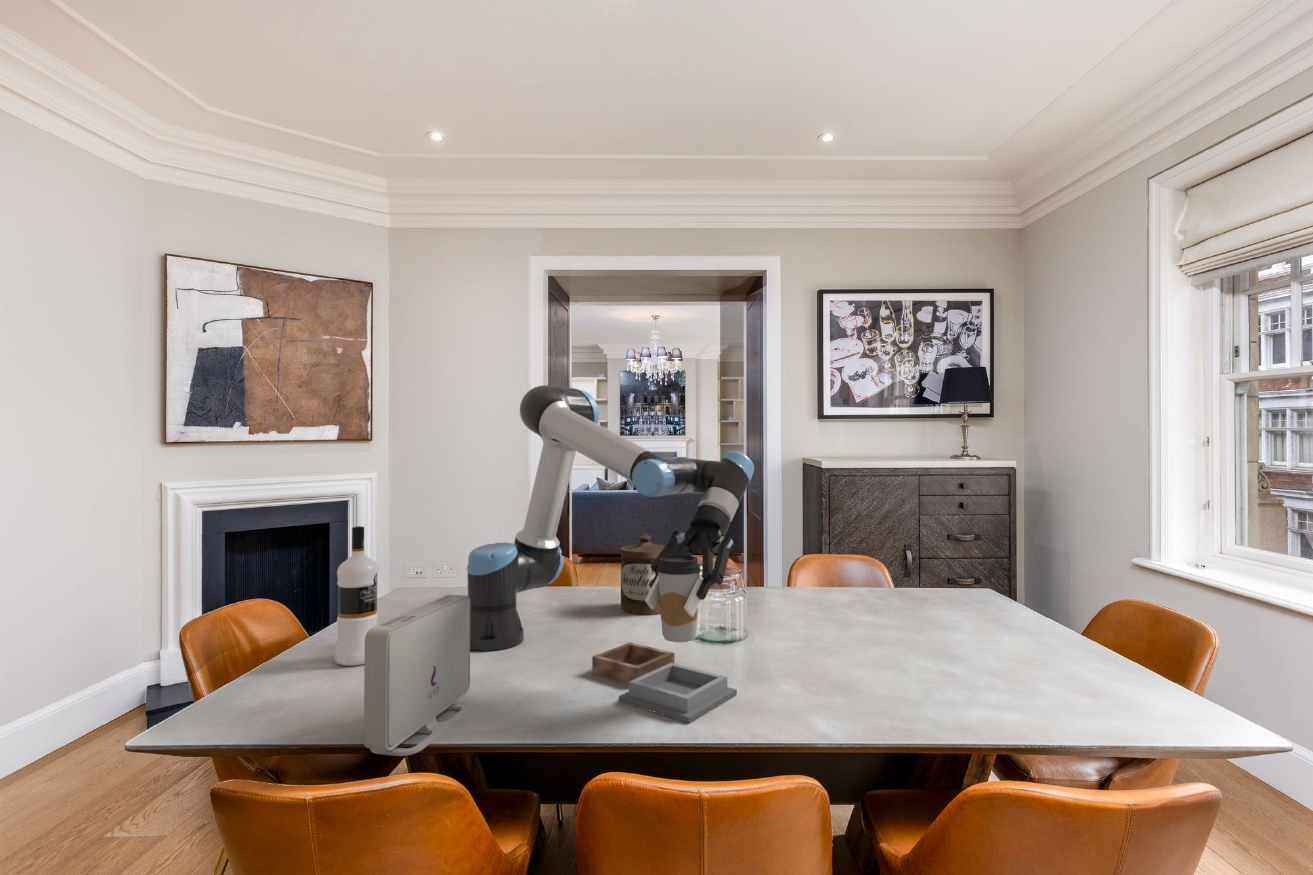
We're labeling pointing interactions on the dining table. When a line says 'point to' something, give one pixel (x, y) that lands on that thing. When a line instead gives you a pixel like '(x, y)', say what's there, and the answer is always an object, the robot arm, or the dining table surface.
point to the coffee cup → (677, 596)
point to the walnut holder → (615, 660)
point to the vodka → (355, 602)
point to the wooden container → (638, 576)
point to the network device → (416, 674)
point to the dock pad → (678, 692)
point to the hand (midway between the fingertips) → (668, 608)
